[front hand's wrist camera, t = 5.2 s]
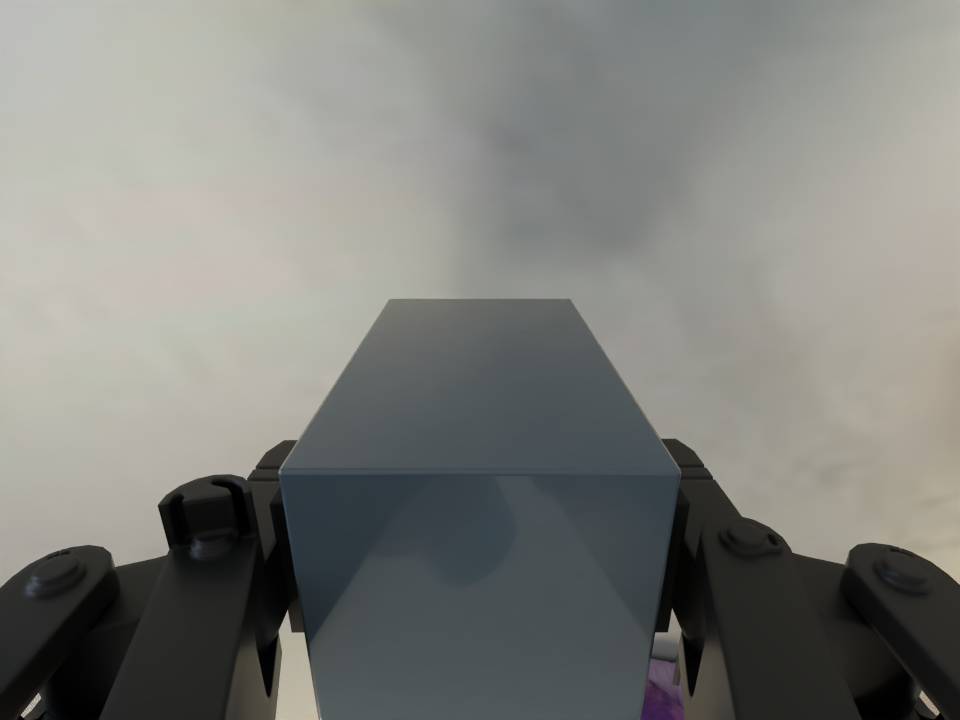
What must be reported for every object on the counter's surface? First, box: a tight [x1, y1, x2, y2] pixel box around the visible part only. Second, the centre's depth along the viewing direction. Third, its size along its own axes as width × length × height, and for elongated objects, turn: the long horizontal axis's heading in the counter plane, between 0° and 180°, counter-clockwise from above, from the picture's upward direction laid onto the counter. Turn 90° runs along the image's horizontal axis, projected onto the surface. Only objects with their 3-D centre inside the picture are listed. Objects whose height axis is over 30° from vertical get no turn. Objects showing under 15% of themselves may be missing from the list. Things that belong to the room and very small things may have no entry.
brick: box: [278, 299, 681, 720], centre depth 11 cm, size 5×6×9 cm
